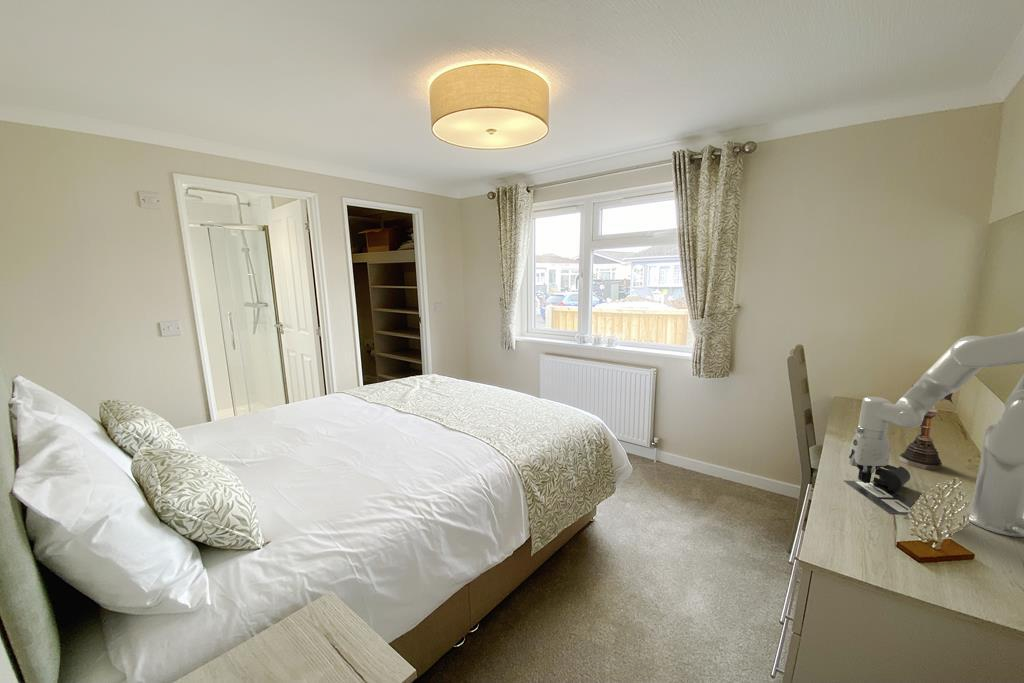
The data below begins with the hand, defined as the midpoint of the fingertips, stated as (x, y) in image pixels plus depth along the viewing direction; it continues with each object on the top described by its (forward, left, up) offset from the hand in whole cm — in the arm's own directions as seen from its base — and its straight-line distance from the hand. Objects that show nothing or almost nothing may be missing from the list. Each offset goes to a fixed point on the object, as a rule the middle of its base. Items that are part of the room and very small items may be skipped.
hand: (863, 481), depth 138 cm
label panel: (-7, -1, -2) cm, 7 cm away
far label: (-3, -1, -2) cm, 3 cm away
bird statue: (+22, -35, -2) cm, 42 cm away
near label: (-13, -1, -2) cm, 13 cm away
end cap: (0, -8, -2) cm, 9 cm away
